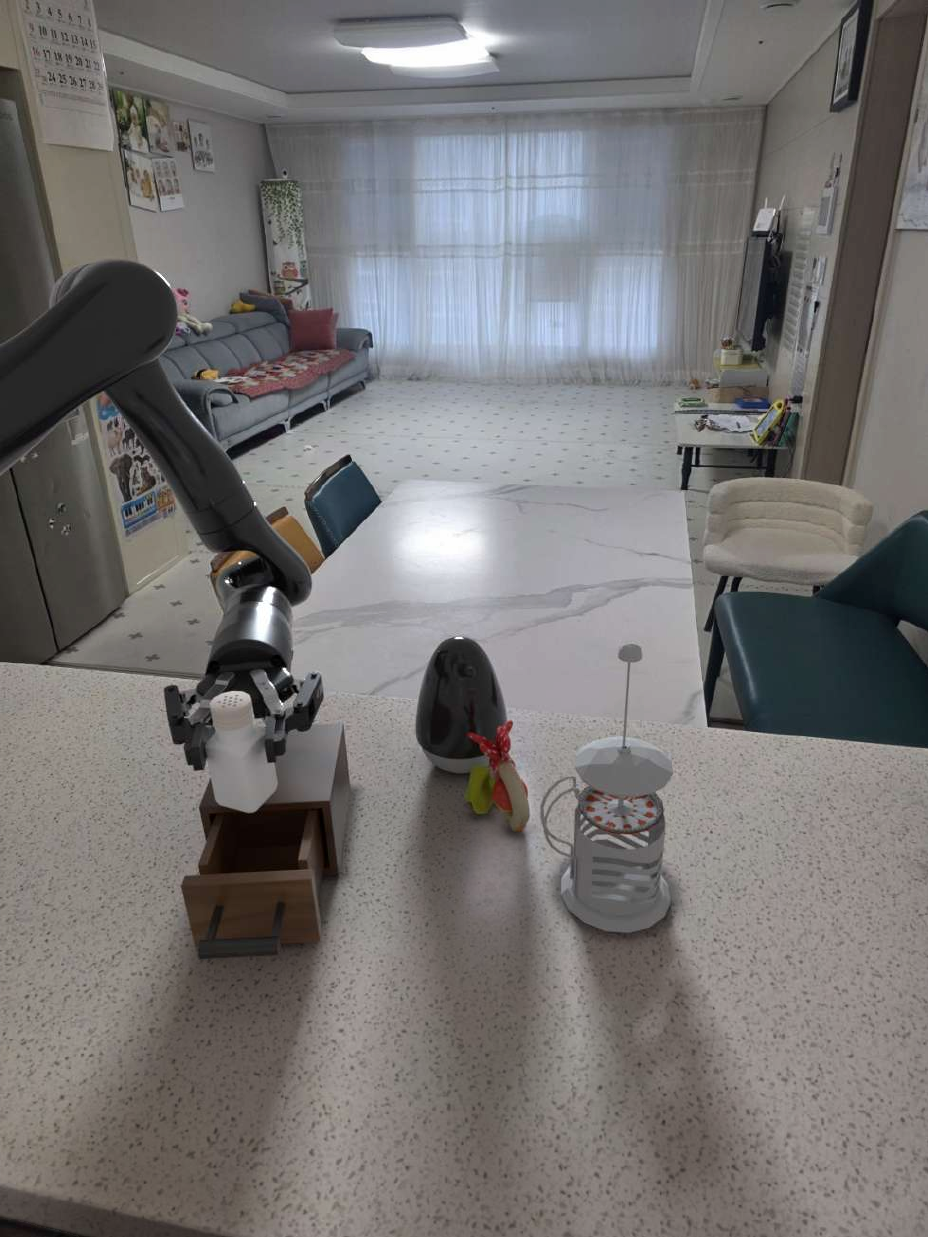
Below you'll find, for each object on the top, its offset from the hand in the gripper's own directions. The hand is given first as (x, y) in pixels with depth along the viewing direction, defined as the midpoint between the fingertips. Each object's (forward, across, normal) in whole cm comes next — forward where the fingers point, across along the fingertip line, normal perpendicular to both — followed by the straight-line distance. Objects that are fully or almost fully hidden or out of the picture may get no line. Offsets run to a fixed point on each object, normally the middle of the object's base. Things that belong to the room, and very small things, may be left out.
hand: (234, 757), depth 64 cm
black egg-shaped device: (-21, +20, +18) cm, 34 cm away
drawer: (0, 0, +17) cm, 17 cm away
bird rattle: (-10, +23, +18) cm, 31 cm away
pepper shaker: (-3, 0, +6) cm, 7 cm away
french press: (+2, +30, +18) cm, 35 cm away
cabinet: (-12, +1, +18) cm, 21 cm away
